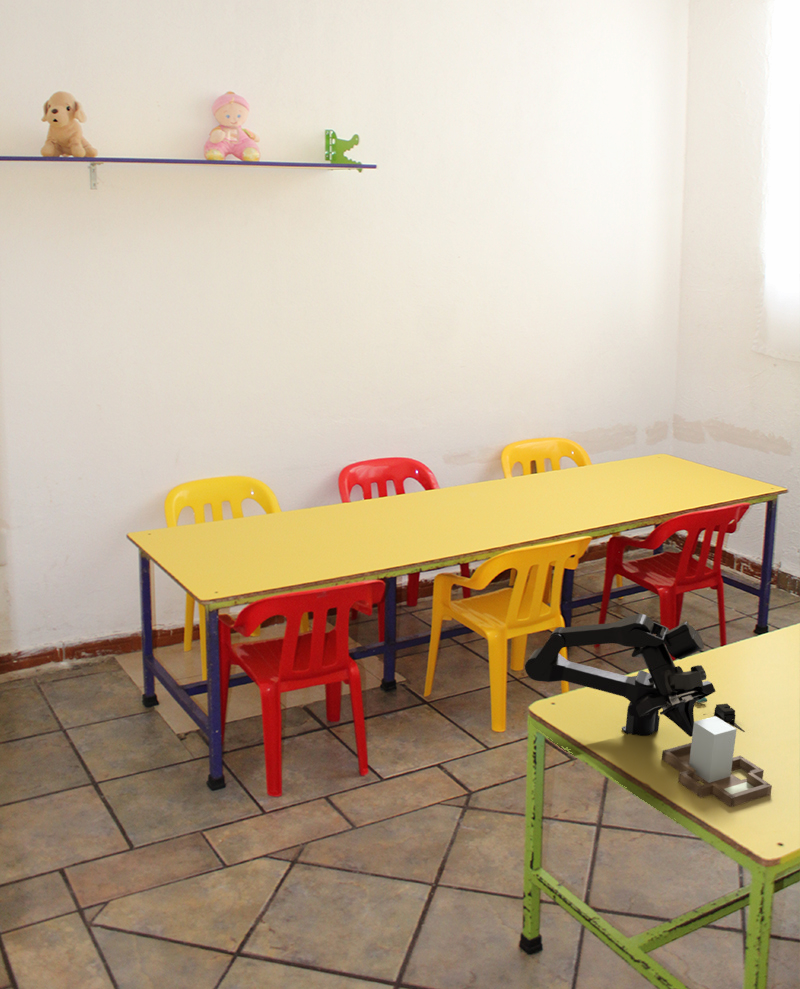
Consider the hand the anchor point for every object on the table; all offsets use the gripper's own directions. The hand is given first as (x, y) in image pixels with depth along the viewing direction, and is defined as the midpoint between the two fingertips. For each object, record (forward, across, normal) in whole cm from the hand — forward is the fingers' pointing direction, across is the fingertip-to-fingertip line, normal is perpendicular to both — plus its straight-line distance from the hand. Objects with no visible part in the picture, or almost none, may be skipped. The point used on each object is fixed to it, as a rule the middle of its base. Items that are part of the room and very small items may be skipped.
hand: (692, 735), depth 211 cm
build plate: (-2, +21, +12) cm, 24 cm away
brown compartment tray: (+10, -1, -1) cm, 10 cm away
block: (+8, -1, -1) cm, 8 cm away
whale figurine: (-10, +23, +20) cm, 33 cm away
